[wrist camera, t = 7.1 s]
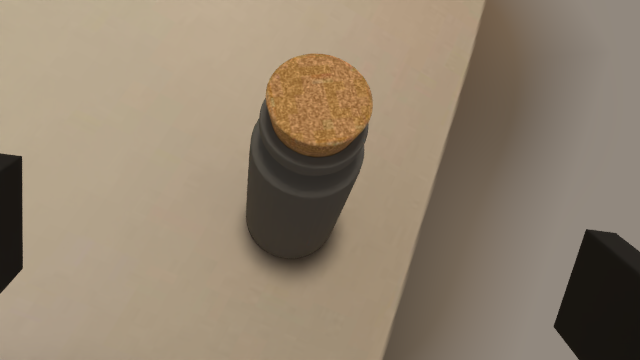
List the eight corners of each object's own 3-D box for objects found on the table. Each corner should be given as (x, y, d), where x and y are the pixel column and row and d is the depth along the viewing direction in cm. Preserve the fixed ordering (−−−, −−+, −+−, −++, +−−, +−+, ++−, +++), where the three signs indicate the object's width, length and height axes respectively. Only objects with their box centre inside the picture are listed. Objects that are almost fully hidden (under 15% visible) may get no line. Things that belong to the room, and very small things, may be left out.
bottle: (238, 252, 37) (241, 144, 24) (253, 170, 40) (264, 31, 26) (327, 266, 38) (381, 168, 24) (337, 184, 40) (390, 54, 27)
